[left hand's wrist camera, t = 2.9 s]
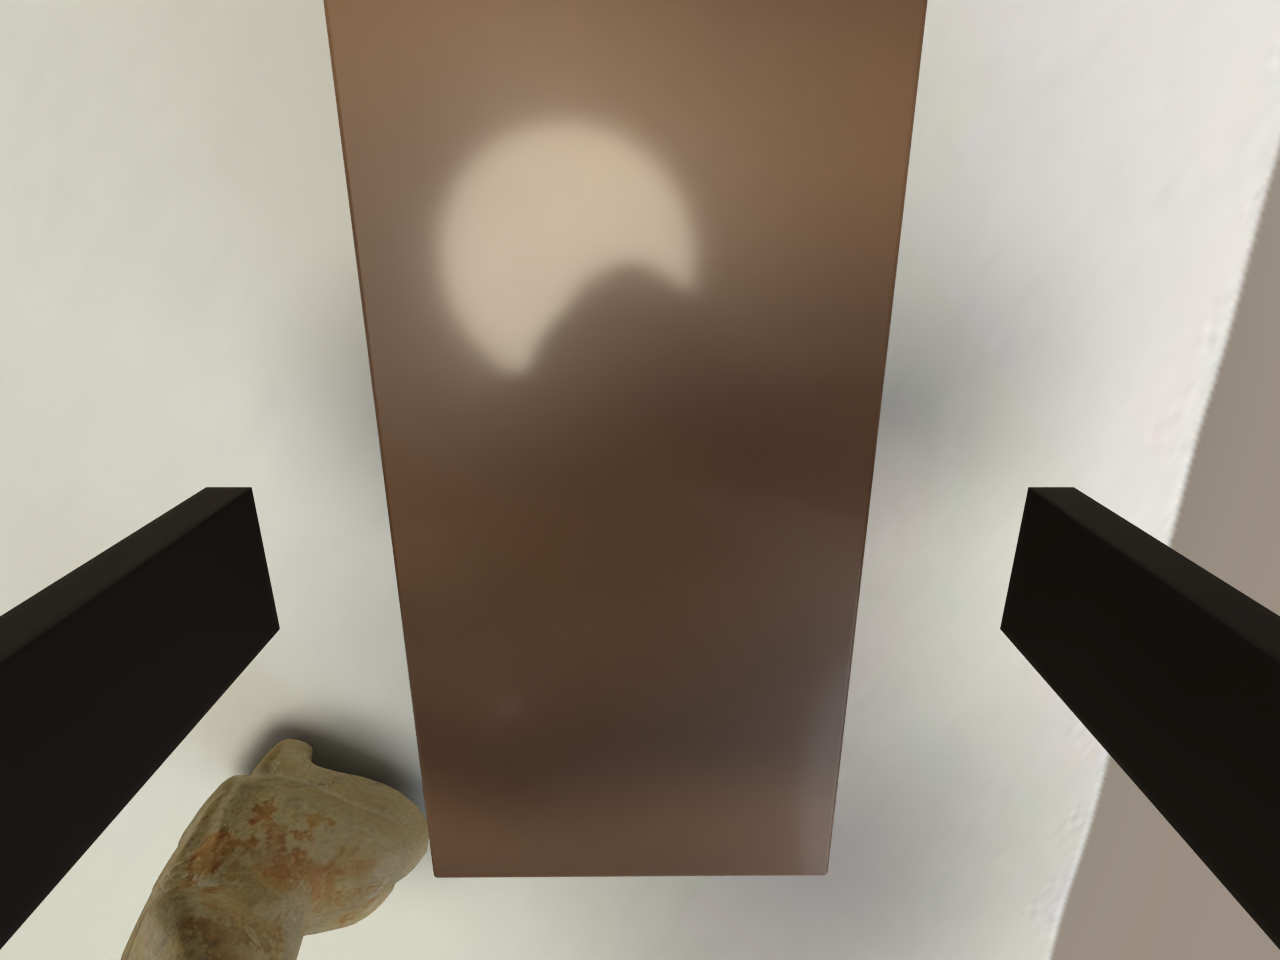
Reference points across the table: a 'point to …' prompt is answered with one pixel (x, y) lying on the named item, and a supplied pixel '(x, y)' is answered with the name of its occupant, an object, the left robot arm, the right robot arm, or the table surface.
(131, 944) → the sculpture
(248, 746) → the table surface
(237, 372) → the table surface
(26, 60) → the table surface
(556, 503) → the box
